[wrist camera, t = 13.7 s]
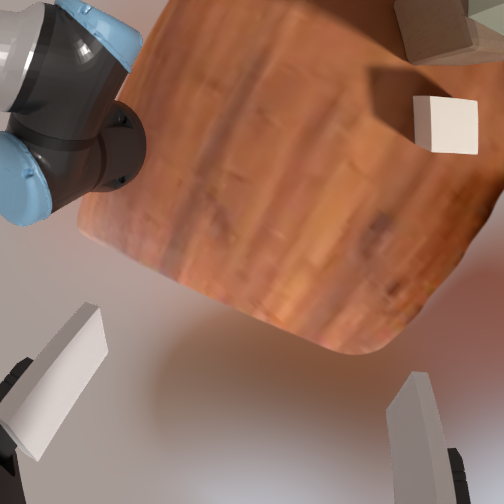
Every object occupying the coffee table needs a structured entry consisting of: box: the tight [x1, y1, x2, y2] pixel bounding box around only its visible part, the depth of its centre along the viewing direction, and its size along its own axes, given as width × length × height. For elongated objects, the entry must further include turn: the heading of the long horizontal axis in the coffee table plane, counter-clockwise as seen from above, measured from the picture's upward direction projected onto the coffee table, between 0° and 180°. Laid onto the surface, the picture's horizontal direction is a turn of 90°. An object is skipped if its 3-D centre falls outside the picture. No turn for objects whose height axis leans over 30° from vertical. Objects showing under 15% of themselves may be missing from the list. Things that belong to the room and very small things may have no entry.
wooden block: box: [393, 0, 504, 66], centre depth 23 cm, size 10×10×20 cm
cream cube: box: [413, 96, 478, 154], centre depth 35 cm, size 7×7×7 cm
